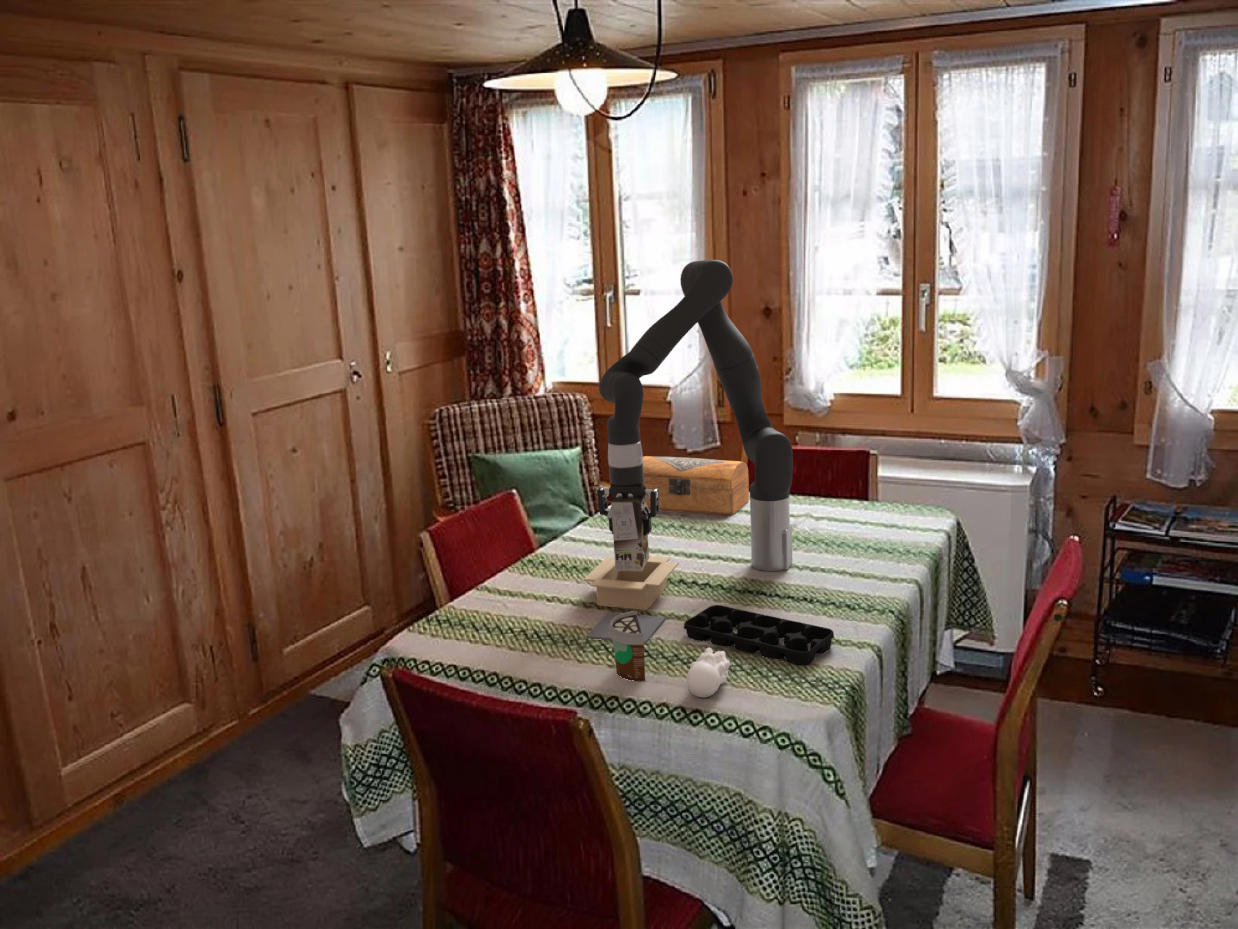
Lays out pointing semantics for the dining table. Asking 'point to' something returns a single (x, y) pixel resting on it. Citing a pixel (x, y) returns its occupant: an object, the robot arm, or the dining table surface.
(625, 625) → the food container
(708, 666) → the figurine
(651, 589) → the carton
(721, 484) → the wooden box
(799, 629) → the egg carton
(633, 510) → the coffee box
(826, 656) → the dining table surface
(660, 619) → the rubber mat
